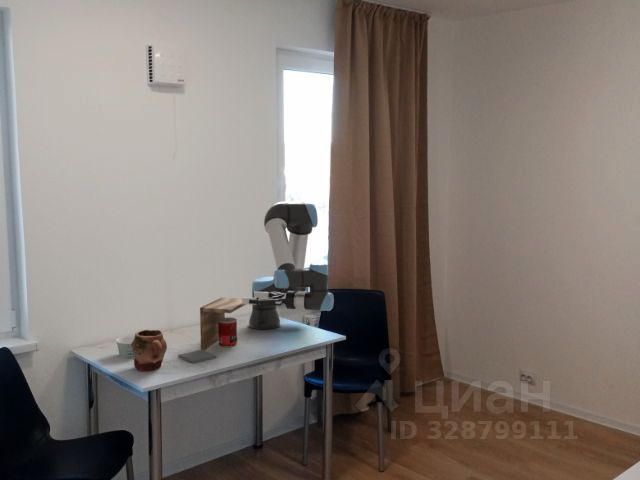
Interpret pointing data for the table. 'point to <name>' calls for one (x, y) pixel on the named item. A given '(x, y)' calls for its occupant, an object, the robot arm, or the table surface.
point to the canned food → (227, 332)
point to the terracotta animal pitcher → (148, 349)
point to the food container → (125, 346)
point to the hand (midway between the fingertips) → (248, 297)
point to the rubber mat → (197, 356)
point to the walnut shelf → (215, 318)
